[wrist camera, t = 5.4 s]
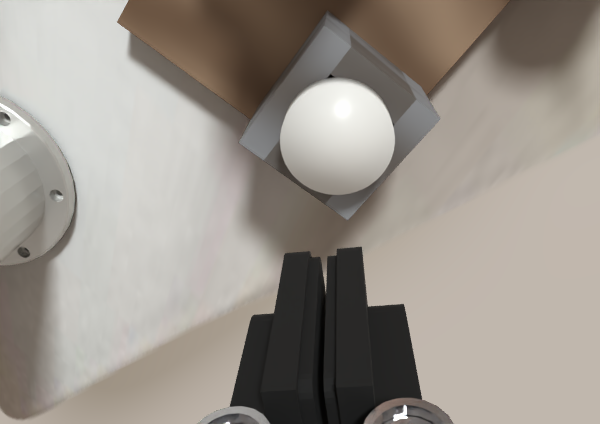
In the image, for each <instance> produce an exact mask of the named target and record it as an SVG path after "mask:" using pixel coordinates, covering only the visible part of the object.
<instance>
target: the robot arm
mask: <svg viewBox="0 0 600 424" xmlns="http://www.w3.org/2000/svg"><path fill="white" fill-rule="evenodd" d="M74 205H75V192H74V185H73V179H72V176H71V173H70V170H69V167H68V164H67V161H66V160H65V158H64V156H63V154H62V152H61V151H60V149H59V147H58V145H57V144H56V143H55V141H54V140H53V139H52V137H51V136H50V135H49V133H48V132H47V131H46V130H45V128H44V127H42V126H41V125H40V124H39V123H38V122H37V121H36V120H35V119H34V118H33V117H32V116H31V115H30V114H29V113H27V112H26V111H24V110H23V109H22V108H20V107H19V106H17V105H16V104H14V103H13V102H11V101H9V100H7V99H5V98H3V97H2V96H0V266H6V265H17V264H22V263H26V262H29V261H32V260H34V259H36V258H38V257H41V256H42V255H43V254H45V253H46V252H47V251H49V250H50V249H51V248H53V247H54V245H55V244H56V243H57V242H58V241H59V240H60V239H61V238H62V237H63V235H64V234H65V232H66V230H67V229H68V227H69V225H70V223H71V219H72V216H73V213H74ZM198 424H453V422H452V420H451V419H450V417H449V416H448V415H447V414H446V413H445V412H444V411H442V410H441V409H440V408H439V407H437V406H436V405H433V404H431V403H429V402H427V401H425V400H422V396H421V391H420V386H419V380H418V375H417V370H416V365H415V359H414V354H413V349H412V343H411V338H410V333H409V327H408V322H407V317H406V312H405V307H404V304H400V305H385V306H371V307H368V305H367V295H366V285H365V275H364V265H363V255H362V247H354V248H342V249H337V256H328V258H327V287H326V292H325V285H324V277H323V270H322V263H321V258H320V257H314V258H312V257H311V253H310V251H308V252H296V253H286V254H285V255H284V260H283V266H282V272H281V277H280V283H279V289H278V294H277V300H276V306H275V311H274V314H261V315H253V316H252V318H251V321H250V324H249V328H248V333H247V337H246V341H245V345H244V349H243V354H242V358H241V362H240V366H239V370H238V375H237V379H236V383H235V387H234V392H233V396H232V400H231V404H230V407H227V408H224V409H220V410H217V411H215V412H213V413H211V414H210V415H208V416H206V417H204V418H203V419H202V420H201V421H200V422H199V423H198Z"/></svg>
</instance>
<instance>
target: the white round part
mask: <svg viewBox="0 0 600 424" xmlns="http://www.w3.org/2000/svg"><path fill="white" fill-rule="evenodd" d="M394 146H395V134H394V128H393V124H392V121H391V118H390V114H389V111H388V109H387V107H386V105H385V103H384V102H383V100H382V99H381V97H380V96H379V95H378V94H377V93H376V92H375V91H374V90H373V89H371V88H370V87H369V86H367V85H365V84H363V83H361V82H359V81H356V80H354V79H349V78H342V77H335V78H327V79H323V80H320V81H317V82H315V83H313V84H311V85H309V86H307V87H306V88H304V89H303V90H302V91H301V92H300V93H299V94H298V95H297V96H296V97H295V98H294V100H293V101H292V103H291V104H290V106H289V108H288V110H287V113H286V116H285V119H284V122H283V125H282V128H281V134H280V148H281V153H282V157H283V159H284V162H285V164H286V166H287V168H288V169H289V171H290V172H291V173H292V175H293V176H294V177H295V178H296V179H297V180H298V181H299V182H301V183H302V184H303V185H305V186H306V187H308V188H310V189H312V190H314V191H317V192H320V193H324V194H330V195H344V194H350V193H354V192H357V191H359V190H362V189H364V188H366V187H368V186H369V185H371V184H372V183H373V182H375V181H376V180H377V179H378V178H379V177H380V176H381V175H382V174H383V172H384V171H385V170H386V168H387V167H388V165H389V163H390V161H391V158H392V155H393V152H394Z"/></svg>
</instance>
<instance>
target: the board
mask: <svg viewBox="0 0 600 424" xmlns="http://www.w3.org/2000/svg"><path fill="white" fill-rule="evenodd" d="M509 1H510V0H129V1H128V3H127V5H126V6H125V8H124V10H123V12H122V14H121V16H120V18H119V19H118V21H117V23H119V24H120V25H121V26H123V27H124V28H125V29H127V30H128V31H130V32H131V33H132V34H134V35H135V36H136V37H138V38H139V39H141V40H142V41H143V42H145V43H146V44H147V45H149V46H150V47H152V48H153V49H154V50H156V51H157V52H158V53H160V54H161V55H163V56H164V57H165V58H167V59H168V60H169V61H171V62H172V63H174V64H175V65H176V66H178V67H179V68H180V69H182V70H183V71H185V72H186V73H187V74H189V75H190V76H191V77H193V78H194V79H196V80H197V81H198V82H200V83H201V84H202V85H204V86H205V87H207V88H208V89H209V90H211V91H212V92H213V93H215V94H216V95H218V96H219V97H220V98H222V99H223V100H224V101H226V102H227V103H229V104H230V105H231V106H233V107H234V108H235V109H237V110H238V111H240V112H241V113H242V114H244V115H245V116H246V117H248V118H249V119H251V120H250V122H249V124H248V126H247V128H246V130H245V132H244V134H243V135H242V137H241V139H240V141H239V144H241V145H242V146H244V147H245V148H246V149H248V150H249V151H251V152H252V153H253V154H255V155H256V156H258V157H259V158H261V159H262V160H263V161H265V162H266V163H268V164H269V165H270V166H272V167H273V168H275V169H276V170H277V171H279V172H280V173H282V174H283V175H284V176H286V177H287V178H289V179H290V180H291V181H293V182H294V183H296V184H297V185H299V186H300V187H301V188H303V189H304V190H306V191H307V192H308V193H310V194H311V195H313V196H314V197H315V198H317V199H318V200H320V201H321V202H322V203H324V204H325V205H327V206H328V207H329V208H331V209H332V210H334V211H335V212H337V213H338V214H339V215H341V216H342V217H344V218H345V219H346V220H348V219H349V218H350V217H351V216H352V215H353V214H354V213H355V212H356V211H357V210H358V209H359V207H360V206H361V205H362V204H363V203H364V202H365V201H366V200H367V199H368V198H369V197H370V195H371V194H372V193H373V192H374V191H375V190H376V189H377V188H378V187H379V186H380V185H381V183H382V182H383V181H384V180H385V179H386V178H387V177H388V176H389V175H390V174H391V173H392V171H393V170H394V169H395V168H396V167H397V166H398V165H399V164H400V163H401V162H402V160H403V159H404V158H405V157H406V156H407V155H408V154H409V153H410V152H411V151H412V150H413V148H414V147H415V146H416V145H417V144H418V143H419V142H420V141H421V140H422V139H423V138H424V136H425V135H426V134H427V133H428V132H429V131H430V130H431V129H432V128H433V127H434V126H435V124H436V123H437V122H438V121H439V120H440V117H439V115H438V114H437V112H436V110H435V109H434V107H433V105H432V104H431V102H430V101H429V99H428V97H427V96H426V95H427V94H428V93H429V92H430V91H431V90H432V89H433V87H434V86H435V85H436V84H437V83H438V82H439V81H440V80H441V78H442V77H443V76H444V75H445V74H446V73H447V72H448V70H449V69H450V68H451V67H452V66H453V65H454V64H455V63H456V61H457V60H458V59H459V58H460V57H461V56H462V55H463V53H464V52H465V51H466V50H467V49H468V48H469V47H470V46H471V44H472V43H473V42H474V41H475V40H476V39H477V38H478V36H479V35H480V34H481V33H482V32H483V31H484V30H485V28H486V27H487V26H488V25H489V24H490V23H491V22H492V21H493V19H494V18H495V17H496V16H497V15H498V14H499V13H500V11H501V10H502V9H503V8H504V7H505V6H506V5H507V4H508V2H509ZM335 77H342V78H349V79H354V80H356V81H359V82H361V83H363V84H365V85H367V86H369V87H370V88H371V89H373V90H374V91H375V92H376V93H377V94H378V95H379V96H380V97H381V99H382V100H383V102H384V103H385V105H386V107H387V109H388V111H389V114H390V118H391V121H392V124H393V128H394V134H395V146H394V152H393V155H392V158H391V161H390V163H389V165H388V167H387V168H386V170H385V171H384V172H383V174H382V175H381V176H380V177H379V178H378V179H377V180H376V181H375V182H373V183H372V184H371V185H369V186H368V187H366V188H364V189H362V190H359V191H357V192H354V193H350V194H344V195H330V194H324V193H320V192H317V191H314V190H312V189H310V188H308V187H306V186H305V185H303V184H302V183H301V182H299V181H298V180H297V179H296V178H295V177H294V176H293V175H292V173H291V172H290V171H289V169H288V168H287V166H286V164H285V162H284V159H283V157H282V153H281V148H280V134H281V128H282V125H283V122H284V119H285V116H286V113H287V110H288V108H289V106H290V104H291V103H292V101H293V100H294V98H295V97H296V96H297V95H298V94H299V93H300V92H301V91H302V90H303V89H304V88H306V87H307V86H309V85H311V84H313V83H315V82H317V81H320V80H323V79H327V78H335Z"/></svg>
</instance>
